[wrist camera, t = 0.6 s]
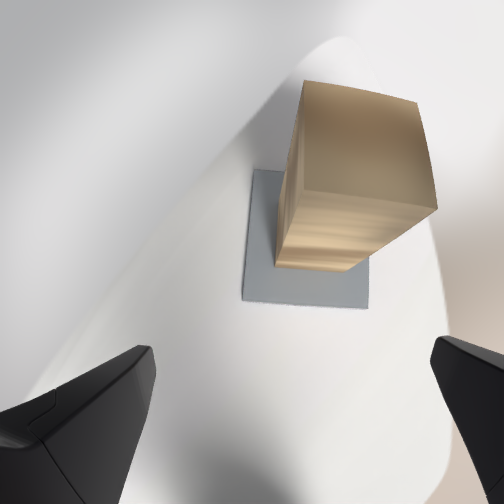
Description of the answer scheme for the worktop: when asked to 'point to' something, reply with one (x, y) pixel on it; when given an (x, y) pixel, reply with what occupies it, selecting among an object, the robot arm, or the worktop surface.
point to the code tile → (285, 279)
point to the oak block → (351, 178)
